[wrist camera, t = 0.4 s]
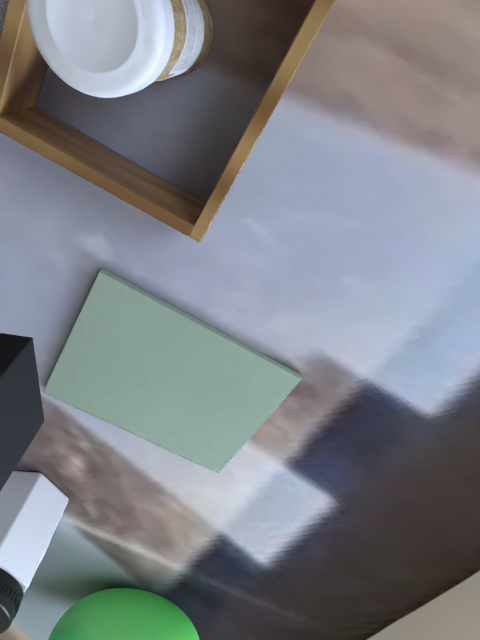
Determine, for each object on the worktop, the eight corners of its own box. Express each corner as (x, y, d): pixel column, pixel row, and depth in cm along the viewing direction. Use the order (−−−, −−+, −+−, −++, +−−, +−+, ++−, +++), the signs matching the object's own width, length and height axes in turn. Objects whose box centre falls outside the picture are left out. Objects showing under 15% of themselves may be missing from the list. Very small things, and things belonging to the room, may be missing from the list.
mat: (45, 387, 41) (42, 392, 40) (101, 267, 34) (99, 271, 34) (219, 468, 45) (219, 473, 44) (301, 374, 38) (301, 379, 37)
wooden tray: (122, -264, 20) (85, -335, 16) (370, -72, 23) (388, -95, 19) (20, 110, 29) (-20, 121, 25) (210, 218, 32) (199, 243, 28)
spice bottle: (126, 53, 27) (9, 61, 15) (150, -37, 24) (34, -107, 13) (198, 89, 27) (138, 123, 16) (228, 5, 25) (184, -27, 14)
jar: (52, 529, 52) (-5, 648, 42) (-18, 501, 50) (-94, 618, 40) (78, 487, 48) (23, 608, 38) (3, 455, 46) (-76, 573, 36)
